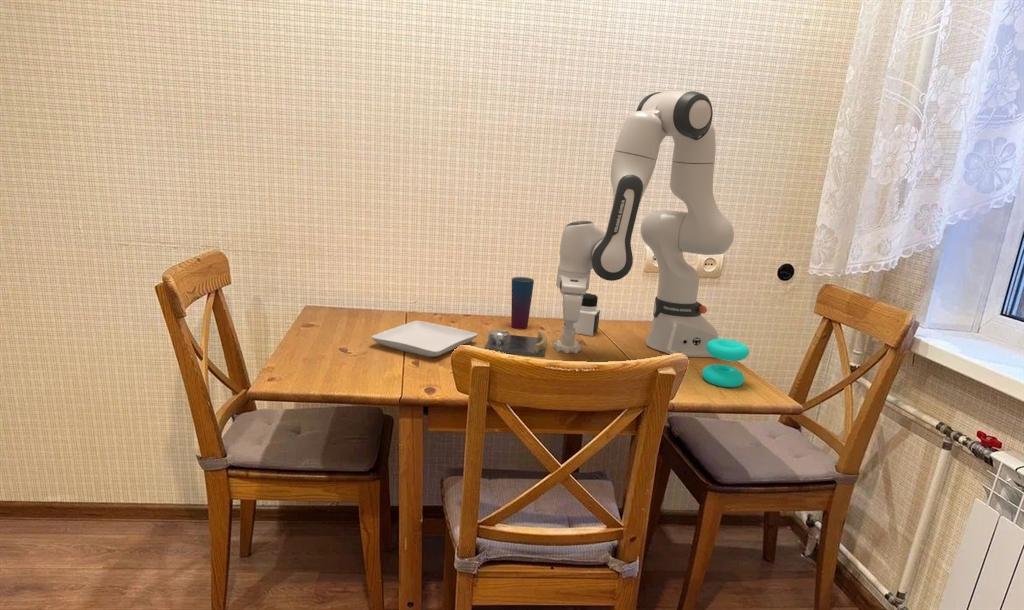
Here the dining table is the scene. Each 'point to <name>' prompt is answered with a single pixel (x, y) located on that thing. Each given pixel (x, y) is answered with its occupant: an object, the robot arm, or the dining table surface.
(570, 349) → the planet gear
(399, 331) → the salad plate
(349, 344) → the dining table surface
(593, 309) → the medicine bottle
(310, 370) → the dining table surface
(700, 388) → the dining table surface
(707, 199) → the robot arm
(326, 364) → the dining table surface
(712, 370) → the donuts
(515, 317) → the cup
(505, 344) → the carrier plate
